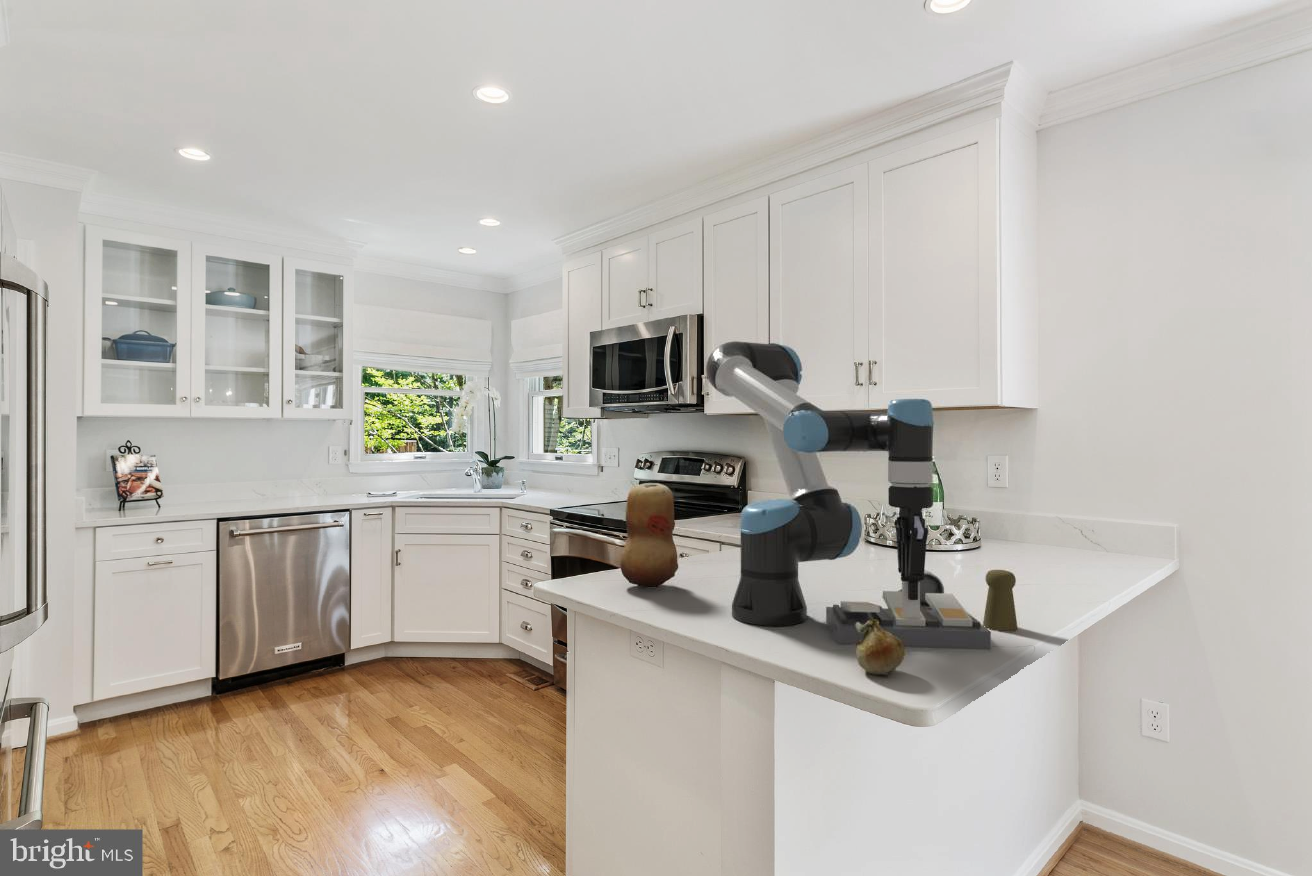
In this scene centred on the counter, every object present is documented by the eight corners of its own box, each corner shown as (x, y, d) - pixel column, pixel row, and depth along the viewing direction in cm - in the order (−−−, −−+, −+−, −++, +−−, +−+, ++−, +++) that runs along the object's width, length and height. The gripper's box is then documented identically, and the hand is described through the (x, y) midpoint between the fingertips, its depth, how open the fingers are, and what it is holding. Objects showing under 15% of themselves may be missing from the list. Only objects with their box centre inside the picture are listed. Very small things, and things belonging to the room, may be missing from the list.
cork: (1004, 633, 128) (1004, 574, 128) (975, 625, 133) (976, 569, 133) (1024, 629, 131) (1025, 571, 131) (996, 621, 136) (996, 566, 136)
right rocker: (942, 625, 121) (943, 618, 121) (925, 598, 132) (925, 592, 132) (972, 626, 121) (972, 619, 120) (951, 599, 131) (952, 593, 131)
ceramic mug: (937, 600, 152) (936, 566, 152) (944, 610, 144) (944, 573, 144) (887, 599, 155) (887, 565, 155) (892, 608, 147) (891, 572, 147)
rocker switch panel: (837, 644, 121) (838, 621, 121) (826, 621, 135) (826, 601, 135) (990, 648, 119) (990, 626, 119) (962, 626, 133) (962, 605, 133)
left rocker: (850, 611, 122) (850, 604, 123) (840, 607, 133) (840, 600, 133) (879, 612, 122) (879, 605, 122) (866, 608, 133) (866, 601, 133)
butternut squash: (631, 595, 156) (631, 486, 156) (613, 583, 169) (613, 482, 168) (686, 590, 161) (687, 485, 161) (666, 579, 174) (666, 481, 173)
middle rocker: (896, 625, 122) (896, 618, 122) (882, 596, 133) (882, 590, 132) (925, 626, 122) (925, 619, 121) (909, 597, 132) (909, 591, 132)
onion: (851, 678, 105) (852, 626, 104) (855, 662, 112) (855, 613, 112) (904, 685, 102) (904, 631, 102) (904, 667, 109) (905, 617, 109)
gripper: (943, 487, 116) (944, 627, 116) (921, 482, 129) (921, 607, 129) (898, 487, 116) (898, 626, 116) (880, 482, 129) (881, 607, 129)
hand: (910, 616), depth 122 cm, fingers closed
